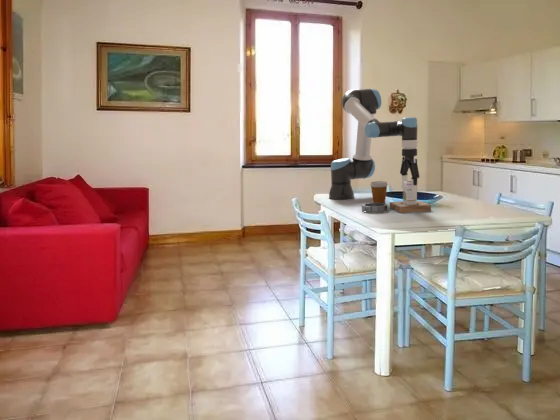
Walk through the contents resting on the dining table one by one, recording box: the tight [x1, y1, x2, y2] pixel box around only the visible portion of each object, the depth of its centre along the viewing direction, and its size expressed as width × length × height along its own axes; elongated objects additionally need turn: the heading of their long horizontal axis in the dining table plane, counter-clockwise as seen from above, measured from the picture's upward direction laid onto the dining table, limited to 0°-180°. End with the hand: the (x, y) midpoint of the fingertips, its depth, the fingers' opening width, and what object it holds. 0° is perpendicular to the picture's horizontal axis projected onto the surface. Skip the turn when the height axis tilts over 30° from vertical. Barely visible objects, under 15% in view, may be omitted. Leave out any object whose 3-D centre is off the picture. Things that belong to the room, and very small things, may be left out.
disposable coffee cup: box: [370, 180, 389, 203], centre depth 285 cm, size 10×10×12 cm
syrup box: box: [402, 180, 418, 205], centre depth 264 cm, size 6×6×14 cm
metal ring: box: [361, 202, 388, 213], centre depth 267 cm, size 13×13×3 cm
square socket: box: [389, 200, 432, 214], centre depth 265 cm, size 16×16×3 cm
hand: (409, 189), depth 264 cm, fingers open, 13 cm apart
